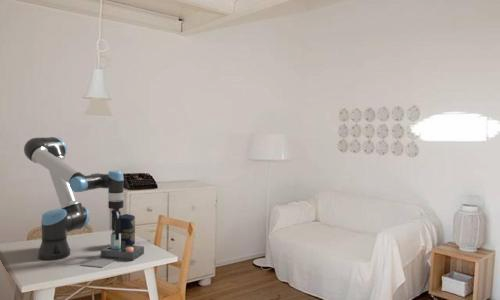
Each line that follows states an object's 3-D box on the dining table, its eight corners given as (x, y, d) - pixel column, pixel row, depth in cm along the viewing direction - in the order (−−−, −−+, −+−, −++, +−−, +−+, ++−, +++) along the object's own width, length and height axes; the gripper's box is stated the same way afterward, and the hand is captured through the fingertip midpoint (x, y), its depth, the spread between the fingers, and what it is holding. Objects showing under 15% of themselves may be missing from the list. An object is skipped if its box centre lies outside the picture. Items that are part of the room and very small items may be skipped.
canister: (129, 248, 226) (129, 216, 225) (114, 246, 228) (114, 215, 227) (137, 243, 235) (138, 213, 235) (123, 242, 237) (123, 212, 236)
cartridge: (111, 256, 210) (111, 234, 209) (110, 254, 214) (110, 231, 214) (121, 255, 212) (121, 233, 212) (119, 252, 217) (119, 230, 216)
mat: (80, 265, 196) (80, 264, 196) (94, 257, 208) (94, 257, 208) (102, 267, 194) (102, 266, 194) (115, 259, 206) (115, 259, 206)
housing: (100, 257, 208) (100, 250, 208) (113, 251, 220) (113, 243, 220) (132, 260, 205) (132, 253, 204) (143, 253, 216) (143, 246, 216)
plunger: (124, 256, 208) (124, 248, 208) (128, 254, 212) (128, 246, 212) (131, 257, 207) (131, 249, 207) (135, 254, 211) (135, 247, 211)
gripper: (126, 202, 206) (126, 247, 207) (120, 197, 221) (120, 239, 223) (111, 203, 202) (111, 249, 203) (105, 198, 218) (105, 240, 219)
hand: (115, 244), depth 213 cm, fingers closed on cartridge, 5 cm apart
